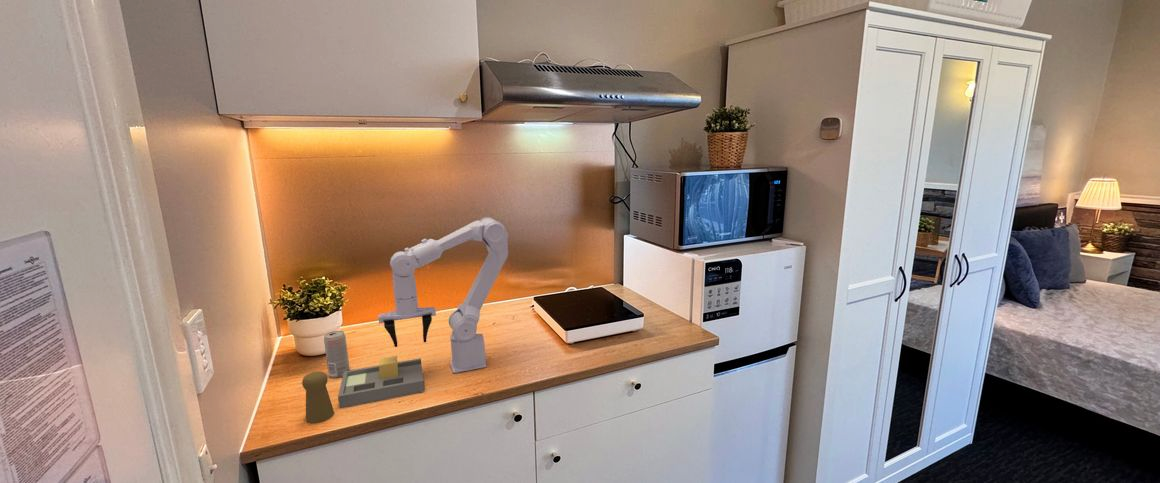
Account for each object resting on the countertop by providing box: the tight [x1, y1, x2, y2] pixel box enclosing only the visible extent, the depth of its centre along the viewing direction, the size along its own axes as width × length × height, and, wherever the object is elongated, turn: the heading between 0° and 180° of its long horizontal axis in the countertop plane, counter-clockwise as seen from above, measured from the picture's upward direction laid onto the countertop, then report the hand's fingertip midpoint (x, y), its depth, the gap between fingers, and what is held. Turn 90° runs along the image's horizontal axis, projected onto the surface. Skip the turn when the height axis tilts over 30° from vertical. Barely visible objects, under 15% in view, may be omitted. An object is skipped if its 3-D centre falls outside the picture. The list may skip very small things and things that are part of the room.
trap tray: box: [337, 357, 425, 409], centre depth 125 cm, size 20×14×3 cm
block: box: [378, 355, 398, 379], centre depth 127 cm, size 4×4×4 cm
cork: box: [301, 370, 335, 425], centre depth 111 cm, size 6×6×11 cm
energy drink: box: [323, 330, 351, 379], centre depth 131 cm, size 5×5×12 cm
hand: (410, 343), depth 128 cm, fingers open, 7 cm apart
